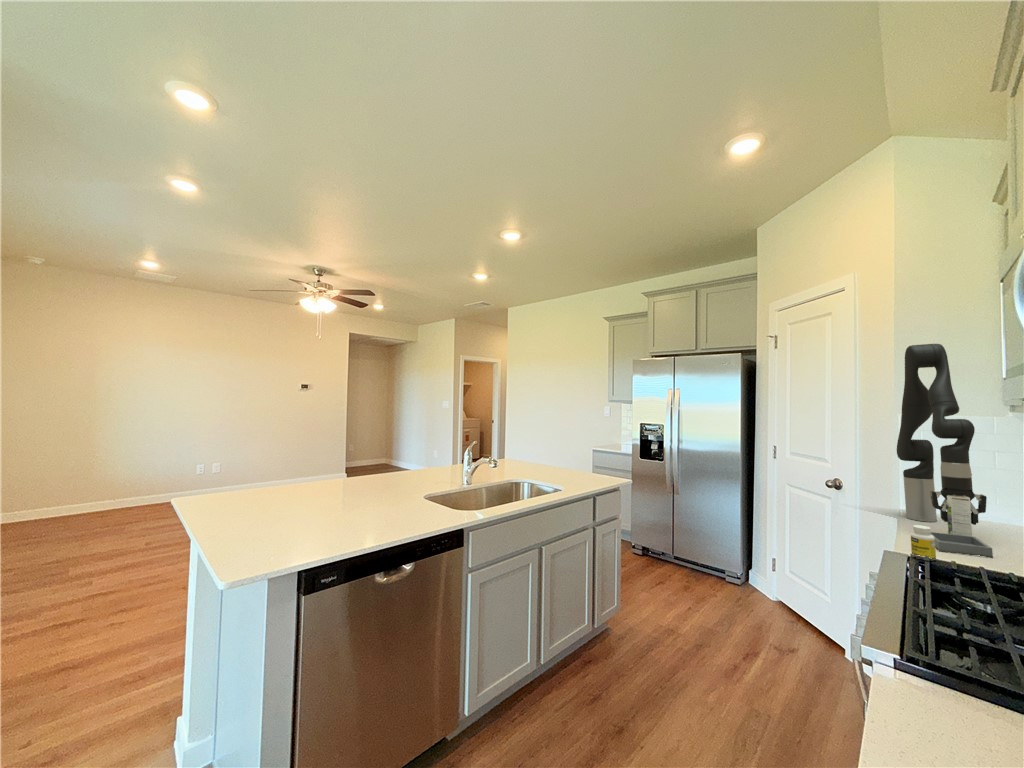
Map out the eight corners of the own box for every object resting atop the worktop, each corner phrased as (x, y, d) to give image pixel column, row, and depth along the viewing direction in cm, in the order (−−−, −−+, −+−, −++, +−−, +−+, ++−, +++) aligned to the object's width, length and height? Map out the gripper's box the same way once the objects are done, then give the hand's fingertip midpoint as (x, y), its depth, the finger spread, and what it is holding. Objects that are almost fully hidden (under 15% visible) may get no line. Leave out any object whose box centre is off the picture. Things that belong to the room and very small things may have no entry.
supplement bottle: (908, 557, 131) (905, 525, 131) (917, 555, 133) (915, 523, 134) (930, 563, 126) (928, 530, 126) (940, 560, 128) (937, 527, 129)
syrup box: (948, 532, 152) (945, 492, 153) (972, 536, 148) (969, 494, 149) (948, 536, 148) (945, 494, 149) (973, 540, 144) (970, 497, 145)
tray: (926, 540, 148) (926, 531, 148) (975, 545, 141) (974, 536, 142) (939, 551, 136) (938, 541, 136) (992, 558, 130) (992, 548, 130)
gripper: (981, 475, 148) (984, 523, 147) (925, 472, 156) (928, 517, 155) (989, 478, 142) (993, 528, 141) (931, 475, 150) (934, 522, 149)
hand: (959, 522), depth 148 cm, fingers closed on syrup box, 6 cm apart
